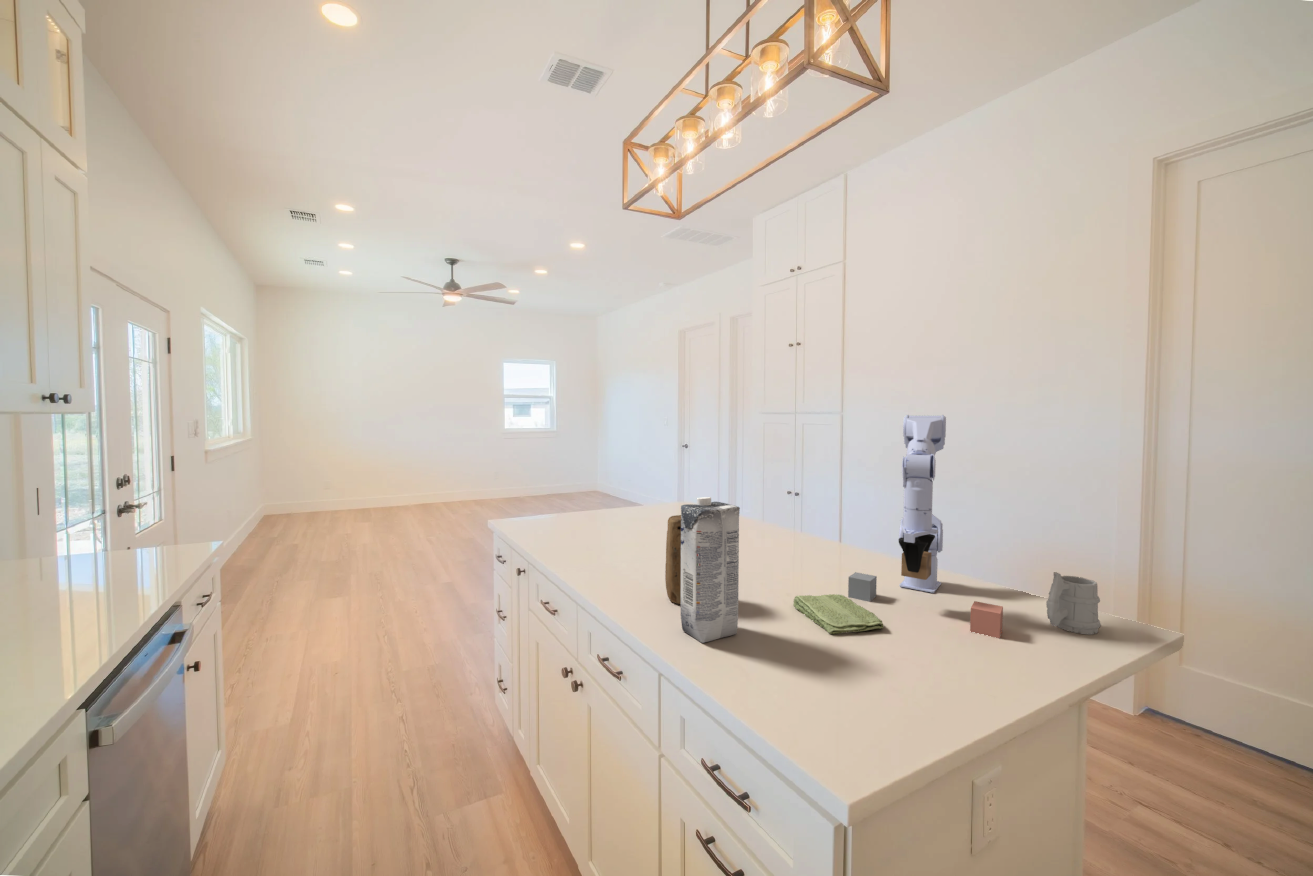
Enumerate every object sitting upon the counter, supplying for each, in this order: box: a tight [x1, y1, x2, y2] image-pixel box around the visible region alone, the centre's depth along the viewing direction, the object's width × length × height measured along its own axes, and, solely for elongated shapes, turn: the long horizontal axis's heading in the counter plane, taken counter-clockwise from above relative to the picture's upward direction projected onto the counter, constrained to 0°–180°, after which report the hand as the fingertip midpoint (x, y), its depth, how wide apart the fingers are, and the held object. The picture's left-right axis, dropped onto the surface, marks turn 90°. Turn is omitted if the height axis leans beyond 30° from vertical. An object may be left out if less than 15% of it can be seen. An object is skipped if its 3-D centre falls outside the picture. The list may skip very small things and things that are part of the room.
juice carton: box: [680, 496, 741, 644], centre depth 104 cm, size 9×10×27 cm
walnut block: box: [900, 551, 932, 580], centre depth 118 cm, size 5×5×5 cm
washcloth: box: [793, 593, 884, 635], centre depth 113 cm, size 13×18×3 cm
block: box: [664, 514, 681, 605], centre depth 123 cm, size 11×8×20 cm
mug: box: [1045, 571, 1102, 635], centre depth 107 cm, size 8×12×12 cm, turn 108°
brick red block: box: [969, 600, 1004, 639], centre depth 106 cm, size 5×5×5 cm
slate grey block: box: [847, 571, 878, 603], centre depth 126 cm, size 5×5×5 cm
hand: (916, 568), depth 118 cm, fingers closed on walnut block, 5 cm apart
